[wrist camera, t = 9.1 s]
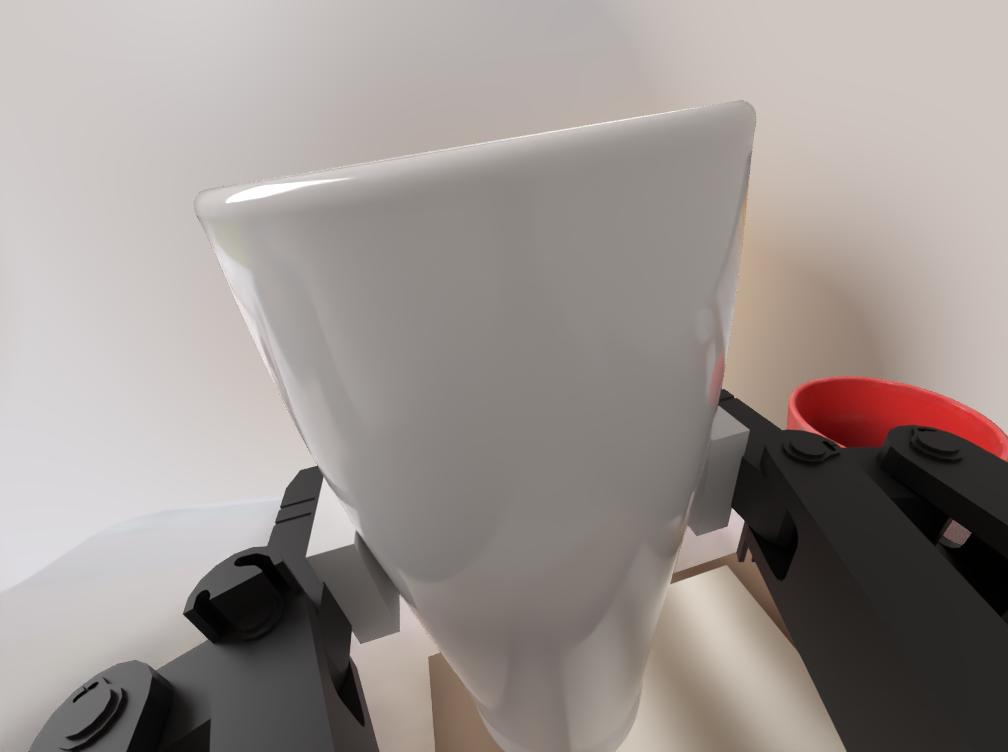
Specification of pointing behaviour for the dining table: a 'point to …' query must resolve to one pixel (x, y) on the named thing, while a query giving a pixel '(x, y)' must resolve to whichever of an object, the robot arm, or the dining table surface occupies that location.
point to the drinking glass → (510, 385)
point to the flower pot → (884, 413)
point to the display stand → (694, 676)
